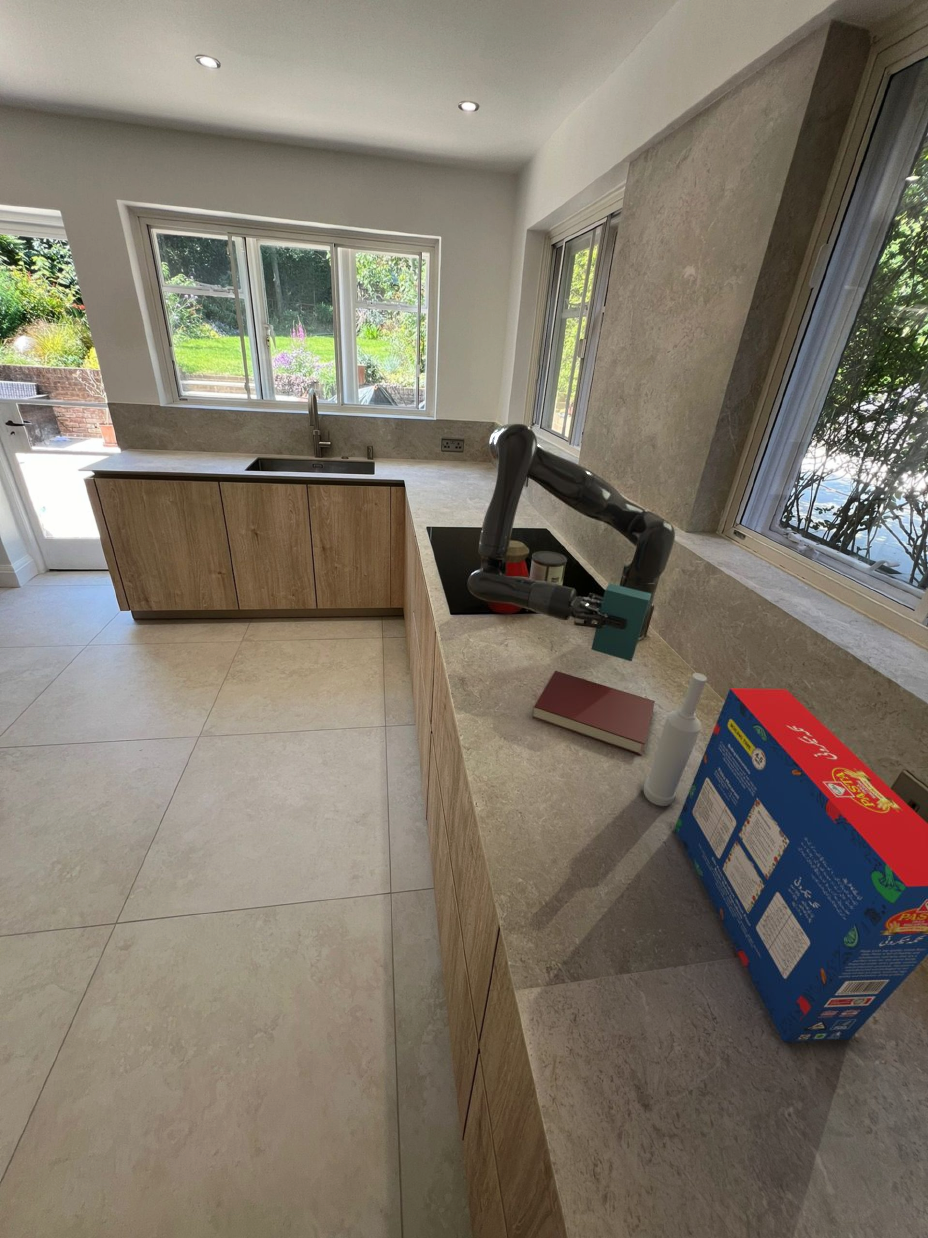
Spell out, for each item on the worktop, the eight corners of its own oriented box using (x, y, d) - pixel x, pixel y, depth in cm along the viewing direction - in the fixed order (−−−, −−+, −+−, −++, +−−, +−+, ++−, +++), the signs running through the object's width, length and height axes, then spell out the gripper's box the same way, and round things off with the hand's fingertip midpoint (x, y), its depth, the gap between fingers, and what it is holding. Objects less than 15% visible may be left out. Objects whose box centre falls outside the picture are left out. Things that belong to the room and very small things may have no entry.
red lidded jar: (522, 596, 153) (530, 534, 144) (538, 617, 142) (548, 551, 132) (473, 599, 149) (478, 535, 140) (485, 620, 138) (492, 552, 129)
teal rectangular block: (590, 649, 111) (605, 589, 104) (594, 641, 115) (609, 583, 107) (631, 661, 108) (649, 600, 101) (634, 653, 111) (651, 593, 104)
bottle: (673, 789, 87) (716, 671, 75) (674, 811, 83) (720, 690, 71) (642, 780, 88) (680, 664, 77) (642, 801, 84) (682, 682, 72)
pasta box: (850, 1039, 56) (991, 884, 42) (783, 1042, 55) (906, 886, 42) (721, 828, 80) (785, 689, 67) (674, 829, 80) (730, 688, 66)
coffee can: (539, 589, 159) (545, 548, 152) (566, 600, 153) (573, 558, 146) (519, 598, 152) (525, 555, 145) (546, 610, 146) (554, 566, 139)
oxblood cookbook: (532, 717, 102) (534, 706, 100) (553, 681, 114) (555, 670, 113) (641, 755, 94) (645, 743, 93) (651, 712, 106) (655, 701, 105)
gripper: (545, 596, 105) (626, 618, 99) (563, 574, 117) (637, 593, 111) (539, 626, 109) (617, 649, 103) (557, 602, 120) (629, 622, 114)
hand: (627, 620), depth 107 cm, fingers closed on teal rectangular block, 4 cm apart
